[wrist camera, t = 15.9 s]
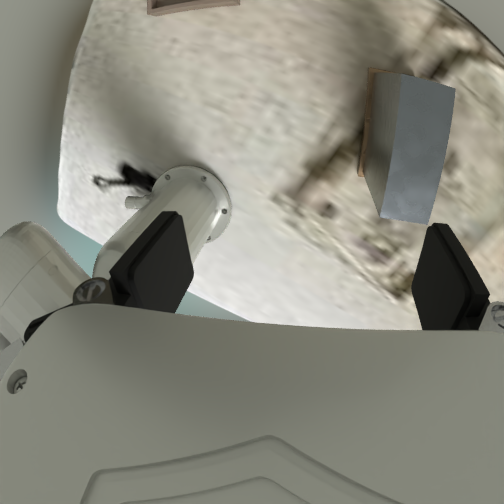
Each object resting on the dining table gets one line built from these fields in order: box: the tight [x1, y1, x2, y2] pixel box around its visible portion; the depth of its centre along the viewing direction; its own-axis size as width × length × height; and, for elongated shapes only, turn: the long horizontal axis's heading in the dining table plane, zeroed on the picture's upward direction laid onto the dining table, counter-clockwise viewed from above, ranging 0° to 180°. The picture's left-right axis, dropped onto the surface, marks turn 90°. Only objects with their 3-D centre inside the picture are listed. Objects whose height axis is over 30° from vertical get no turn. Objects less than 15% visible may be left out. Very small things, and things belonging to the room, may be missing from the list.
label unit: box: [357, 68, 455, 225], centre depth 26 cm, size 6×14×13 cm, turn 0°
